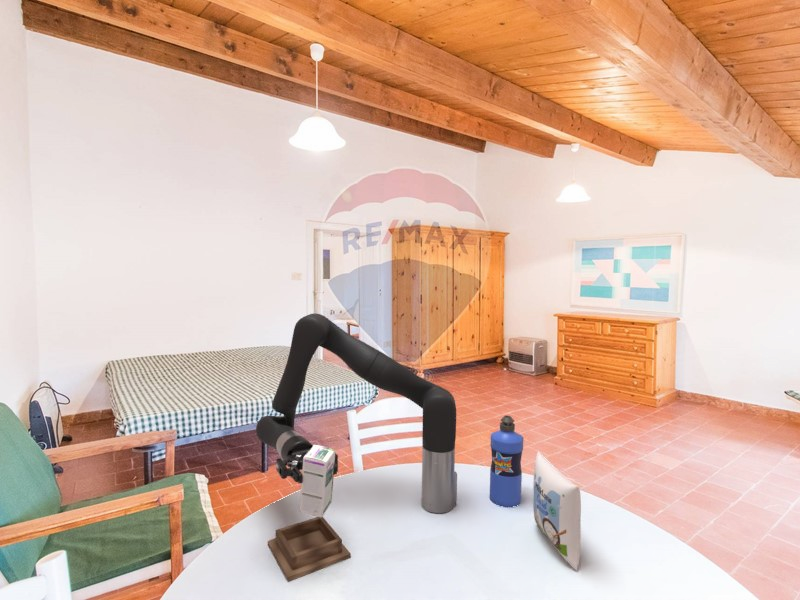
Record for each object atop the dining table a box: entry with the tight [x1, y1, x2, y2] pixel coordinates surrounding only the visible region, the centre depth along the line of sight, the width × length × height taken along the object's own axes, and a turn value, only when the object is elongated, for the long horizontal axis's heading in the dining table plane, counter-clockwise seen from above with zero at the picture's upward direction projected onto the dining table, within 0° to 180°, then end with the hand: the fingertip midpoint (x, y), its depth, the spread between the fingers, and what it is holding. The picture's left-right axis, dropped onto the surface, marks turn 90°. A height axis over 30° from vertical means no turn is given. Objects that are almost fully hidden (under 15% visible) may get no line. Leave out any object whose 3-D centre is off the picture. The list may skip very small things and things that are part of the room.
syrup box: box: [299, 444, 336, 518], centre depth 102 cm, size 6×6×14 cm
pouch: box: [532, 451, 582, 572], centre depth 108 cm, size 8×19×20 cm, turn 5°
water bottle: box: [489, 415, 524, 508], centre depth 129 cm, size 9×9×25 cm
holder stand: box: [267, 516, 352, 583], centre depth 105 cm, size 15×15×4 cm
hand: (318, 474), depth 102 cm, fingers closed on syrup box, 8 cm apart
